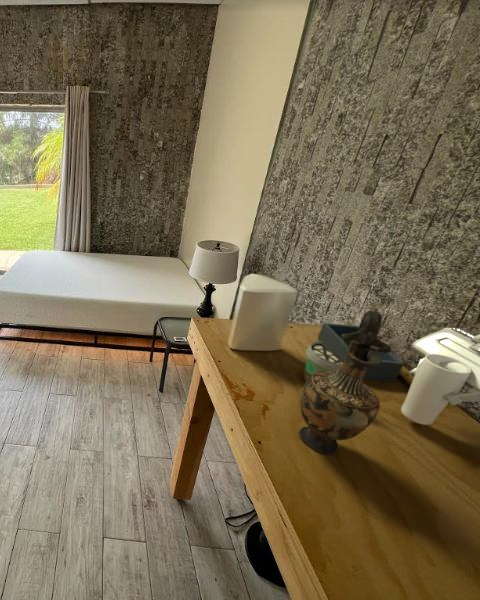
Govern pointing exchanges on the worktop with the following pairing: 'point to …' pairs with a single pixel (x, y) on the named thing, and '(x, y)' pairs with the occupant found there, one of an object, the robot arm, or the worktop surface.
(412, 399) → the white cup
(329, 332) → the blue open box
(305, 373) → the food container
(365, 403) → the vase
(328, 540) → the worktop surface
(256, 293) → the white rounded triangular prism
